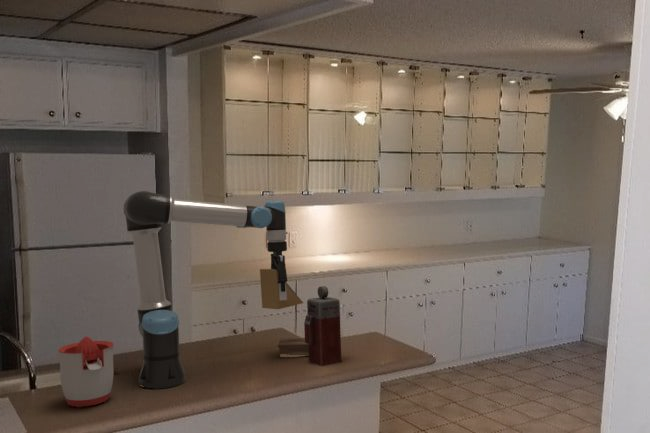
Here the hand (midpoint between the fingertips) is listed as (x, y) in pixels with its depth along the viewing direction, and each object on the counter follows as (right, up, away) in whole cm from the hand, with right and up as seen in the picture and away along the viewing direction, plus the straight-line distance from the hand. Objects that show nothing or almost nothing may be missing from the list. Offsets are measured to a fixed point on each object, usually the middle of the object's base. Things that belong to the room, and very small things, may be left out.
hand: (279, 298), depth 228 cm
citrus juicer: (-54, -25, -48) cm, 77 cm away
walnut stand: (+9, -23, +5) cm, 25 cm away
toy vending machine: (+17, -23, -9) cm, 29 cm away
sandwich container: (+1, -3, +2) cm, 4 cm away
